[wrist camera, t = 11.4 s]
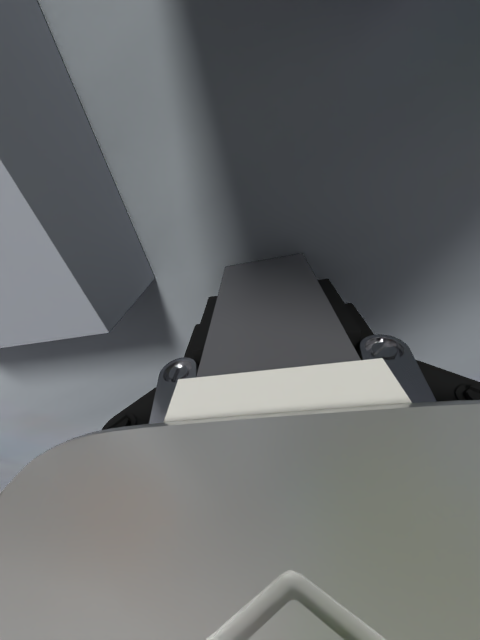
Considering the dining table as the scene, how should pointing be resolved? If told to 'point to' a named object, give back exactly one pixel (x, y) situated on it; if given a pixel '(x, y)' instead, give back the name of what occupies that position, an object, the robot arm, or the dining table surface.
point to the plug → (278, 350)
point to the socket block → (56, 200)
